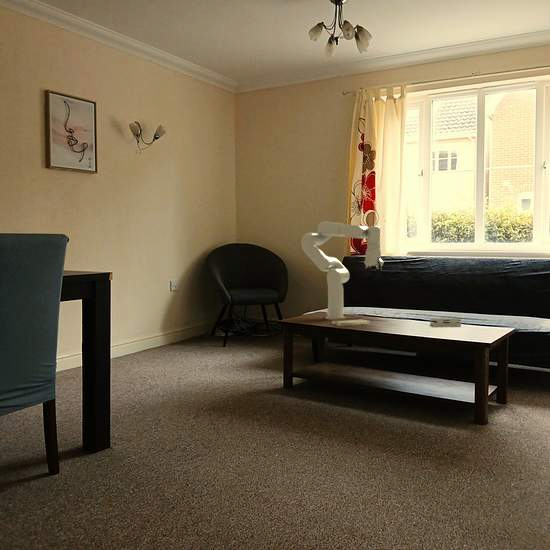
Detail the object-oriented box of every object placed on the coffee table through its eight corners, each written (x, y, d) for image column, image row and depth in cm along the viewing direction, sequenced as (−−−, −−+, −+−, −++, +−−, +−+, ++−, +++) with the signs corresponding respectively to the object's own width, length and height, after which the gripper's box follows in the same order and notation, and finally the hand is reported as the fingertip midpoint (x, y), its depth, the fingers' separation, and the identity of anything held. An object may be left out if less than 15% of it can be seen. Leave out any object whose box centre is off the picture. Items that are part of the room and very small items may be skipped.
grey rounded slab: (462, 326, 317) (455, 326, 327) (462, 318, 317) (454, 318, 327) (433, 327, 315) (427, 326, 325) (433, 318, 316) (427, 318, 325)
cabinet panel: (332, 324, 326) (332, 318, 325) (360, 322, 335) (360, 316, 335) (342, 326, 317) (342, 320, 317) (370, 324, 326) (370, 318, 326)
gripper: (359, 246, 340) (359, 275, 340) (377, 246, 324) (377, 276, 325) (369, 246, 343) (369, 274, 344) (387, 246, 328) (387, 275, 328)
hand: (373, 275), depth 334 cm, fingers open, 9 cm apart
